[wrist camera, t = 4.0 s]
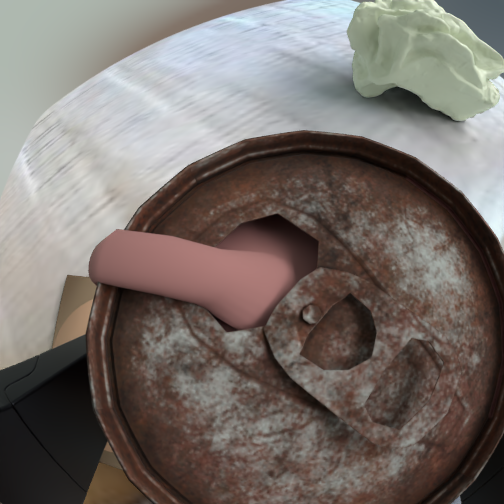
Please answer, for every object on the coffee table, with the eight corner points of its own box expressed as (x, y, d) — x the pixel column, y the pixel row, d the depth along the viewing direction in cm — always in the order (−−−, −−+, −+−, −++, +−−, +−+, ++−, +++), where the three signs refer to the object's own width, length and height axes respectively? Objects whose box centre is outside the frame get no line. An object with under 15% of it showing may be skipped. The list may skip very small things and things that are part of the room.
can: (231, 314, 17) (129, 111, 4) (340, 324, 16) (494, 150, 3) (216, 416, 14) (28, 498, 2) (330, 427, 14) (510, 527, 1)
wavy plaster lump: (417, 122, 33) (468, 42, 22) (465, 177, 24) (535, 78, 13) (305, 59, 28) (359, -40, 17) (333, 93, 19) (416, -51, 8)
